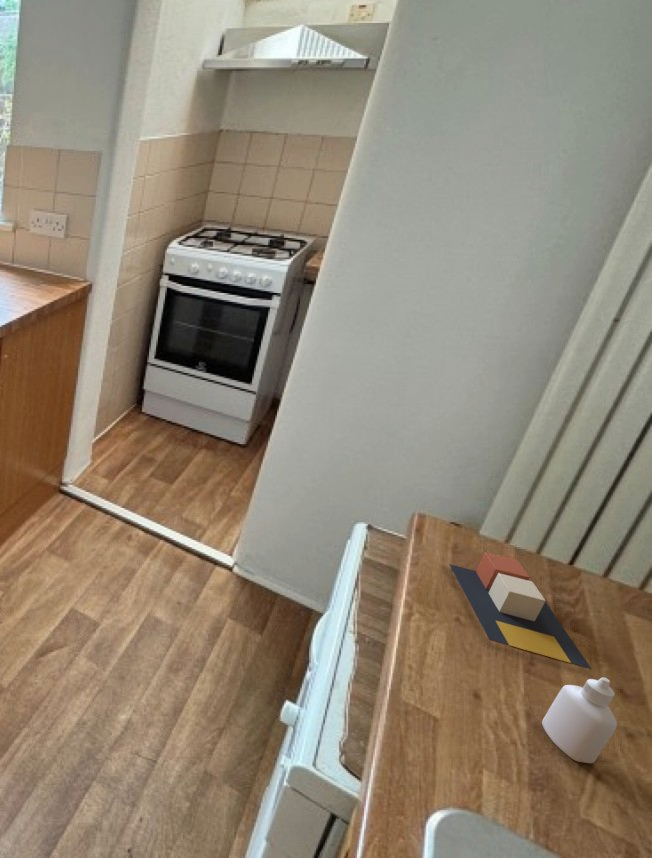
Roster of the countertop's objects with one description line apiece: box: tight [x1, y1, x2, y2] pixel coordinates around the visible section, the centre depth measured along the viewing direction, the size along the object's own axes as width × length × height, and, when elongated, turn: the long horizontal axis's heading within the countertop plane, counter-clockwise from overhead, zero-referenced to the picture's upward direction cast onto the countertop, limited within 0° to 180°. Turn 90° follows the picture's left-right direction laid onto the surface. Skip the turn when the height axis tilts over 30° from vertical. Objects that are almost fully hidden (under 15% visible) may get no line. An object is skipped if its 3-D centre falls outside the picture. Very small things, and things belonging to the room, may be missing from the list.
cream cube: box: [489, 573, 546, 621], centre depth 100 cm, size 4×4×4 cm
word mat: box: [448, 564, 592, 670], centre depth 100 cm, size 12×18×1 cm, turn 155°
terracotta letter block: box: [475, 551, 531, 590], centre depth 104 cm, size 4×4×4 cm
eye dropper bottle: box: [541, 676, 618, 764], centre depth 78 cm, size 4×6×12 cm
